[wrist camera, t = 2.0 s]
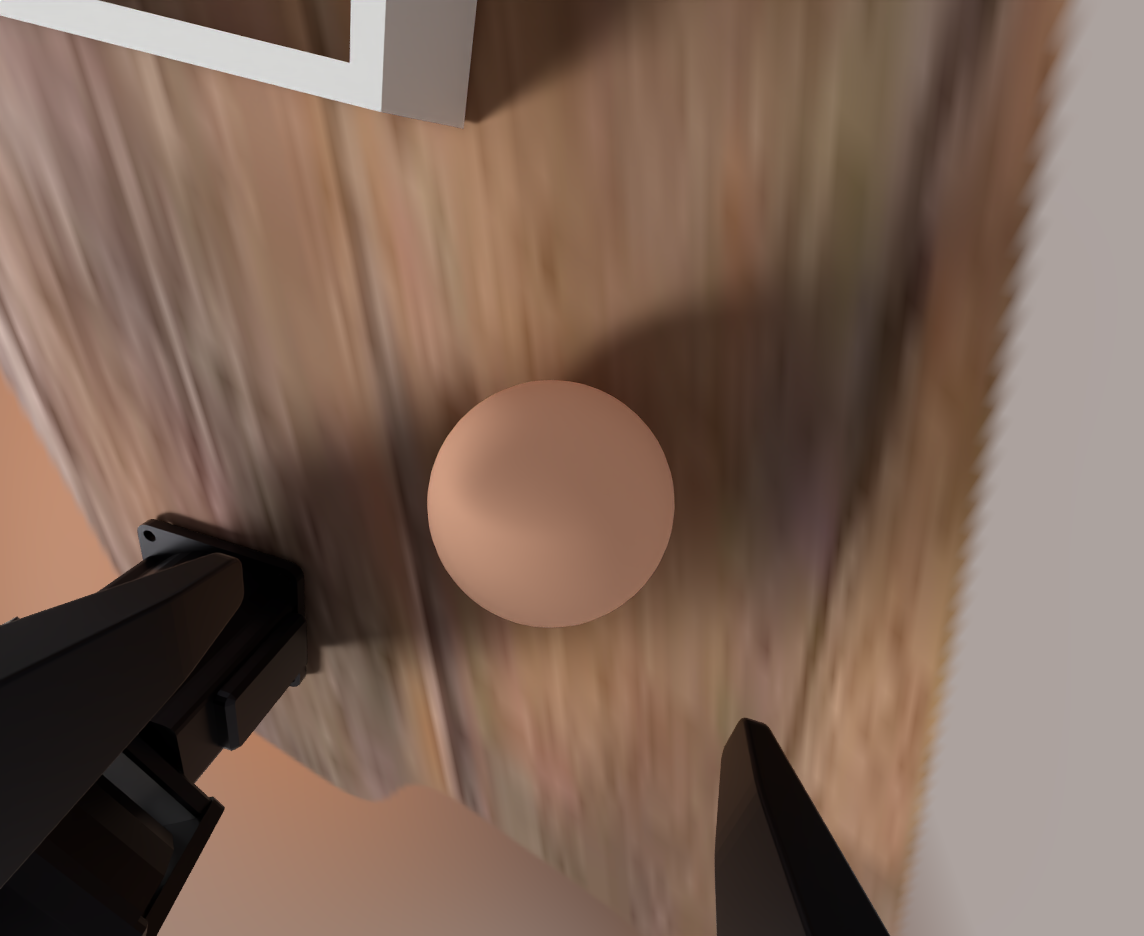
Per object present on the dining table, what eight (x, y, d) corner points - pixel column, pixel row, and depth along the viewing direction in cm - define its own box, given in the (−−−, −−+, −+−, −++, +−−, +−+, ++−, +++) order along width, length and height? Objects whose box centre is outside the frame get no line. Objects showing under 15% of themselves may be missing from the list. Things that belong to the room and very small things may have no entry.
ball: (465, 505, 18) (373, 637, 13) (492, 325, 15) (388, 402, 10) (644, 558, 18) (624, 716, 13) (707, 384, 15) (713, 496, 10)
